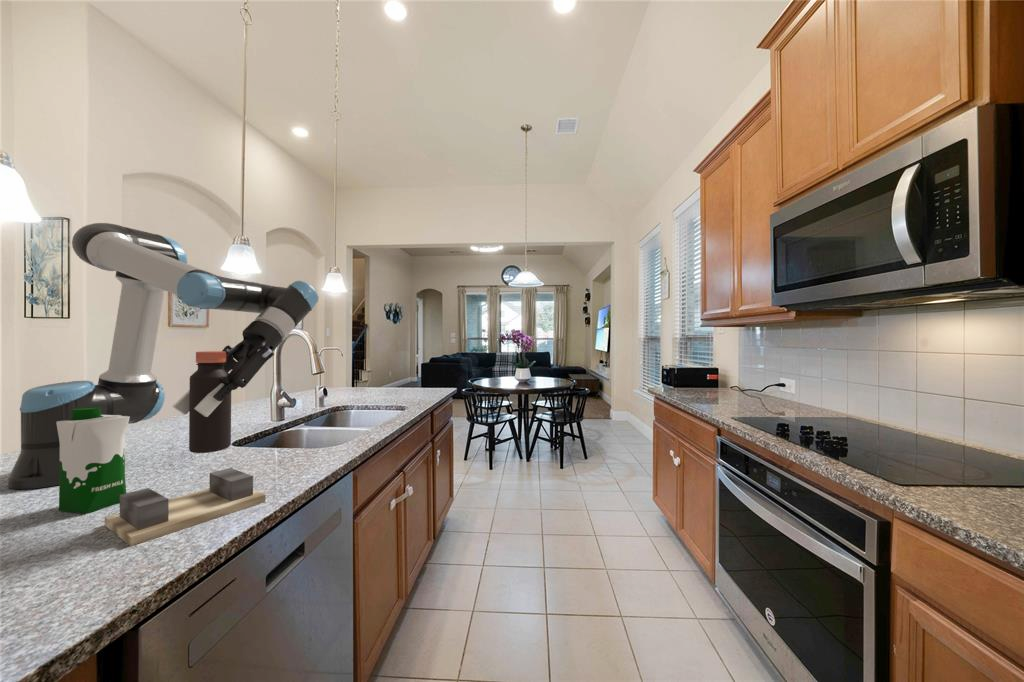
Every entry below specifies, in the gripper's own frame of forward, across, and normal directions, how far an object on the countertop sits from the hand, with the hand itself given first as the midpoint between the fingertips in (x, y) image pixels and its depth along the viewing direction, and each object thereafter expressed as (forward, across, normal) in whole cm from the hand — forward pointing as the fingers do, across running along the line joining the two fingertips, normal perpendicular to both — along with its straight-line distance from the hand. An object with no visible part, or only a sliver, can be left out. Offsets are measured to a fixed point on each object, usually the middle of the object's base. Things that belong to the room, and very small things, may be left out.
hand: (190, 411), depth 76 cm
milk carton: (+18, +23, -11) cm, 31 cm away
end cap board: (+14, 0, -15) cm, 20 cm away
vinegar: (+3, 0, -9) cm, 9 cm away
